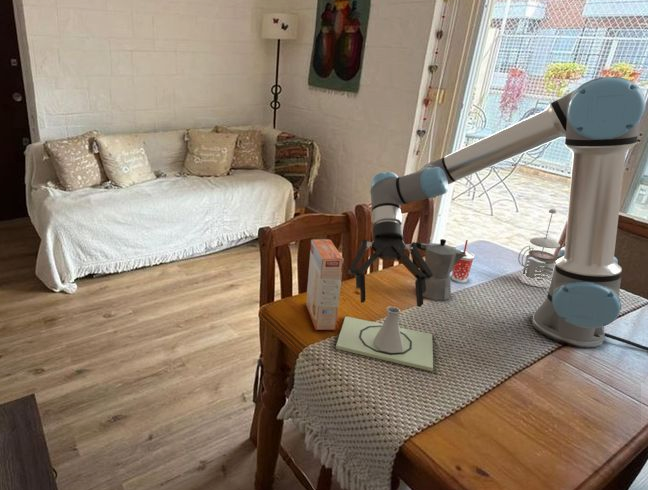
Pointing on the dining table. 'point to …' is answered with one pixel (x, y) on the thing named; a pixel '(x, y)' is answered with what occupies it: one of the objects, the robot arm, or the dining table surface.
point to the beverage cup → (463, 267)
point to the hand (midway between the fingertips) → (391, 303)
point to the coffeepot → (439, 268)
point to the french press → (540, 256)
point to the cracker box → (324, 284)
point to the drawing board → (361, 341)
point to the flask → (390, 333)
